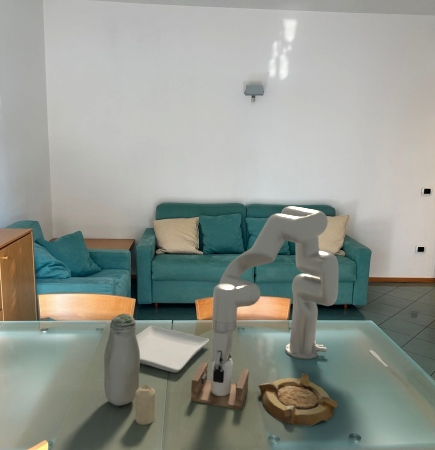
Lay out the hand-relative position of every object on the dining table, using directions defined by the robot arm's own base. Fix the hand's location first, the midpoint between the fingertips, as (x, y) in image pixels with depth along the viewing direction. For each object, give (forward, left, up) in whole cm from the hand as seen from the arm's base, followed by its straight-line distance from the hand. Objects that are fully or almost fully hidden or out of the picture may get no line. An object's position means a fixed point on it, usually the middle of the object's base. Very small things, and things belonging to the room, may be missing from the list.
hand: (221, 374), depth 141 cm
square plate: (+27, -21, -8) cm, 35 cm away
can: (0, 0, -6) cm, 6 cm away
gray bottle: (+28, +13, -7) cm, 32 cm away
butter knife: (-56, -37, -8) cm, 68 cm away
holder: (0, 0, -7) cm, 7 cm away
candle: (+18, +19, -7) cm, 27 cm away
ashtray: (-24, -3, -8) cm, 25 cm away
